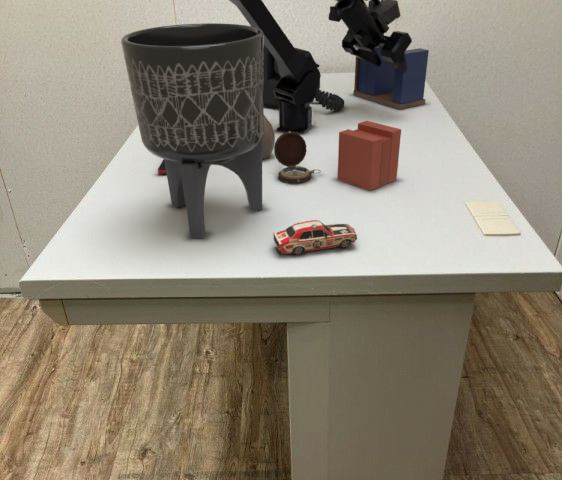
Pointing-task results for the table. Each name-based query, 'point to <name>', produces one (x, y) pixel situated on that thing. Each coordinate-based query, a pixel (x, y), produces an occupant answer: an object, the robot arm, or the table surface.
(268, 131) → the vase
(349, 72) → the table surface
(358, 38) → the robot arm
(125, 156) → the table surface
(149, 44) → the planter
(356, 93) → the book rack
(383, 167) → the brick-red books
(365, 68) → the navy books
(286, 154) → the compass
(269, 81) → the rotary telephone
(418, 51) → the navy book
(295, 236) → the race car
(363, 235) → the table surface
